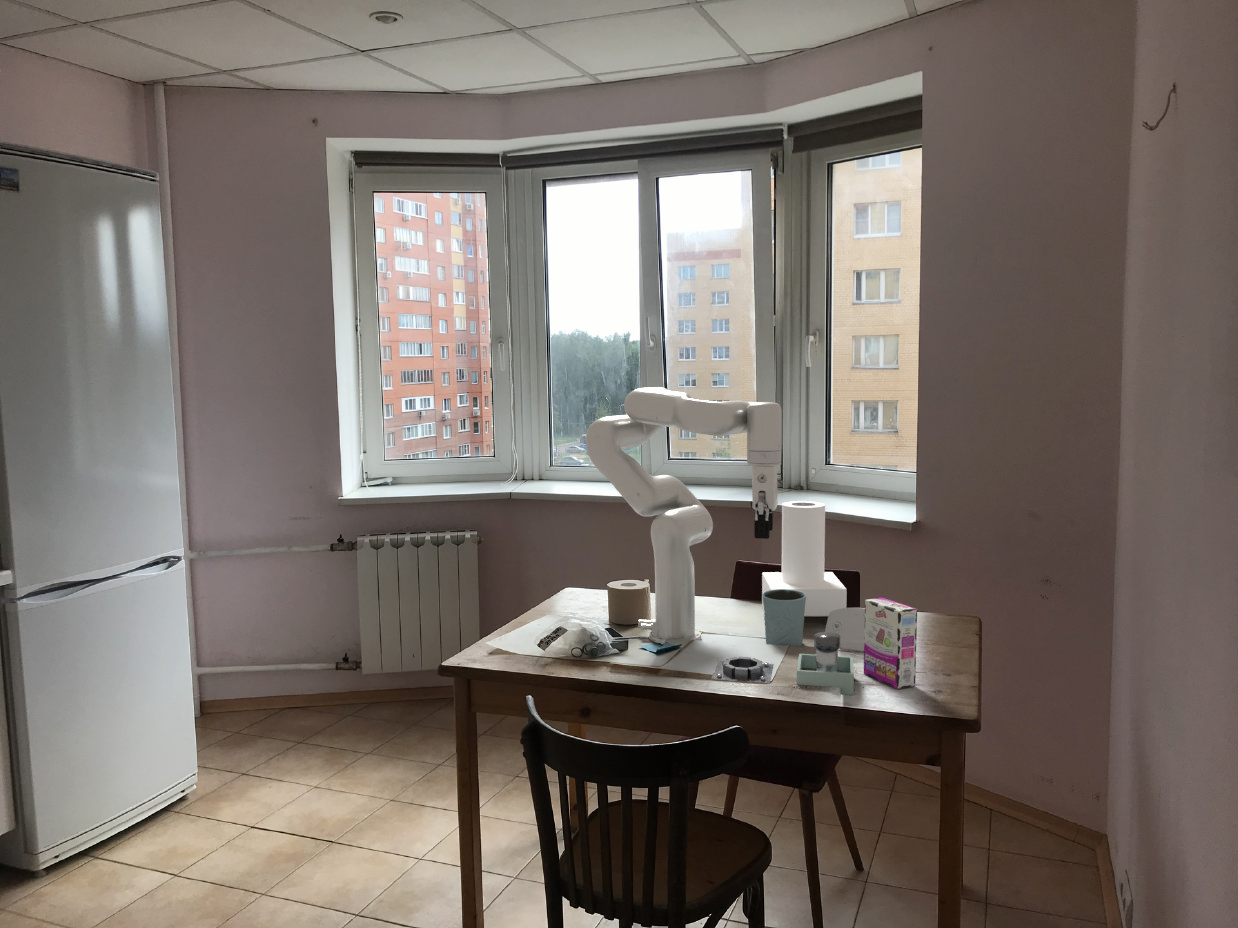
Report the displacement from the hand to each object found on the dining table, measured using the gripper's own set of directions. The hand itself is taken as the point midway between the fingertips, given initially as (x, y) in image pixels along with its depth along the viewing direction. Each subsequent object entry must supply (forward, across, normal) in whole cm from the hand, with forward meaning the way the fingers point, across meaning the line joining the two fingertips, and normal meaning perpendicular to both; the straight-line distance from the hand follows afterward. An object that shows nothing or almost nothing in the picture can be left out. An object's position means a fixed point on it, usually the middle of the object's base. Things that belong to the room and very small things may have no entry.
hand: (763, 534), depth 206 cm
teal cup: (+28, +11, -4) cm, 31 cm away
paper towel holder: (+29, +34, -7) cm, 45 cm away
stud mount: (+28, -15, +3) cm, 32 cm away
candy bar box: (+28, -10, -27) cm, 41 cm away
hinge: (+29, +13, -22) cm, 38 cm away
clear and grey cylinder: (+28, -15, -14) cm, 34 cm away
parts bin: (+28, -15, -14) cm, 35 cm away
